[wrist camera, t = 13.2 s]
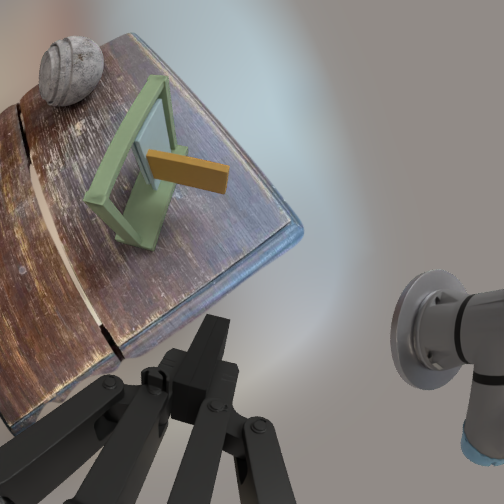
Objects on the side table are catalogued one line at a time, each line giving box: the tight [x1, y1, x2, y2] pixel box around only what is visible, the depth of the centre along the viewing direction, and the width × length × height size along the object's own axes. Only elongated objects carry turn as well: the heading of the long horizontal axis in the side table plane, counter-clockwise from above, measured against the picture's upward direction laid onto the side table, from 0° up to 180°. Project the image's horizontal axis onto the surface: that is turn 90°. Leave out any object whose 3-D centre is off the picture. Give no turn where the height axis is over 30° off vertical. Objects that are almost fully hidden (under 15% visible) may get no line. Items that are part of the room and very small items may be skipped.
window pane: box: [135, 99, 230, 194], centre depth 33 cm, size 11×7×13 cm, turn 78°
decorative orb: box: [39, 36, 104, 106], centre depth 35 cm, size 15×14×15 cm
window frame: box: [83, 75, 188, 251], centre depth 32 cm, size 6×17×16 cm, turn 167°
